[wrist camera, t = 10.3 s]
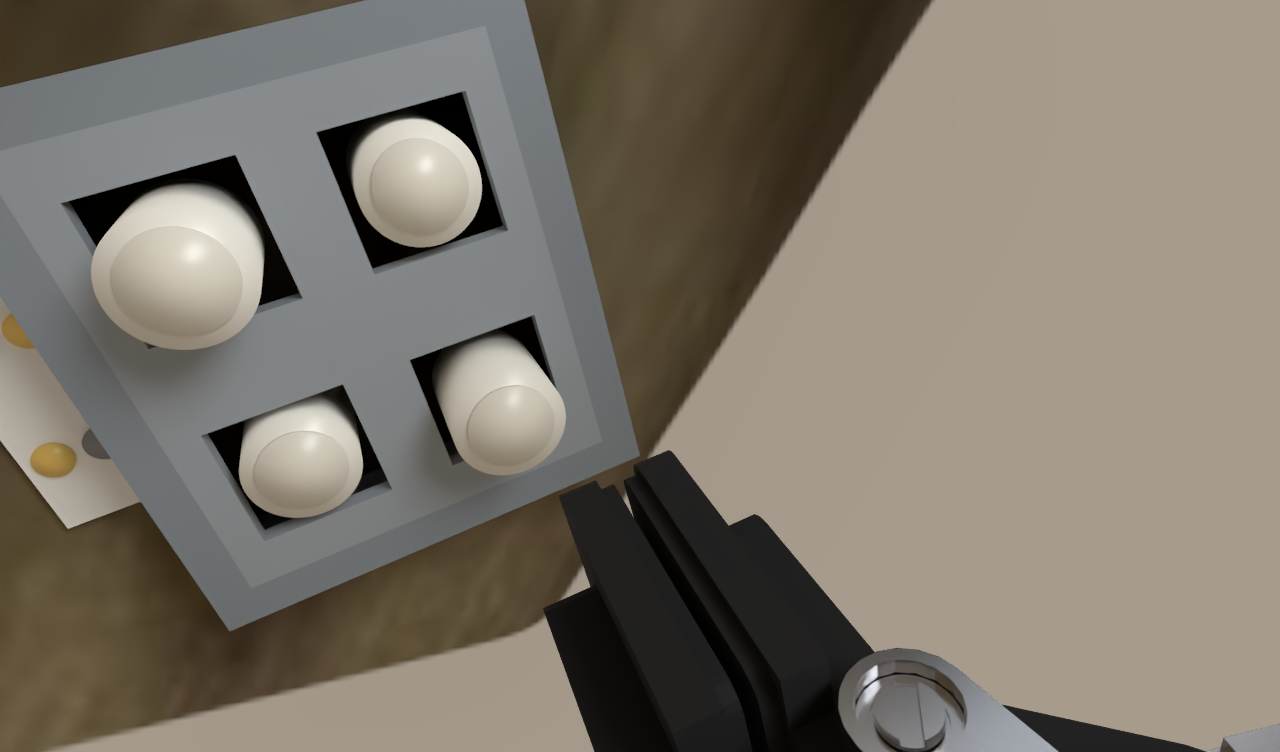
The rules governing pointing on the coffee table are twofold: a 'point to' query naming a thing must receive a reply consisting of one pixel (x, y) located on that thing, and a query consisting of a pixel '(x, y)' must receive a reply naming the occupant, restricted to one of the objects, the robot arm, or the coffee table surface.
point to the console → (310, 281)
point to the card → (53, 435)
